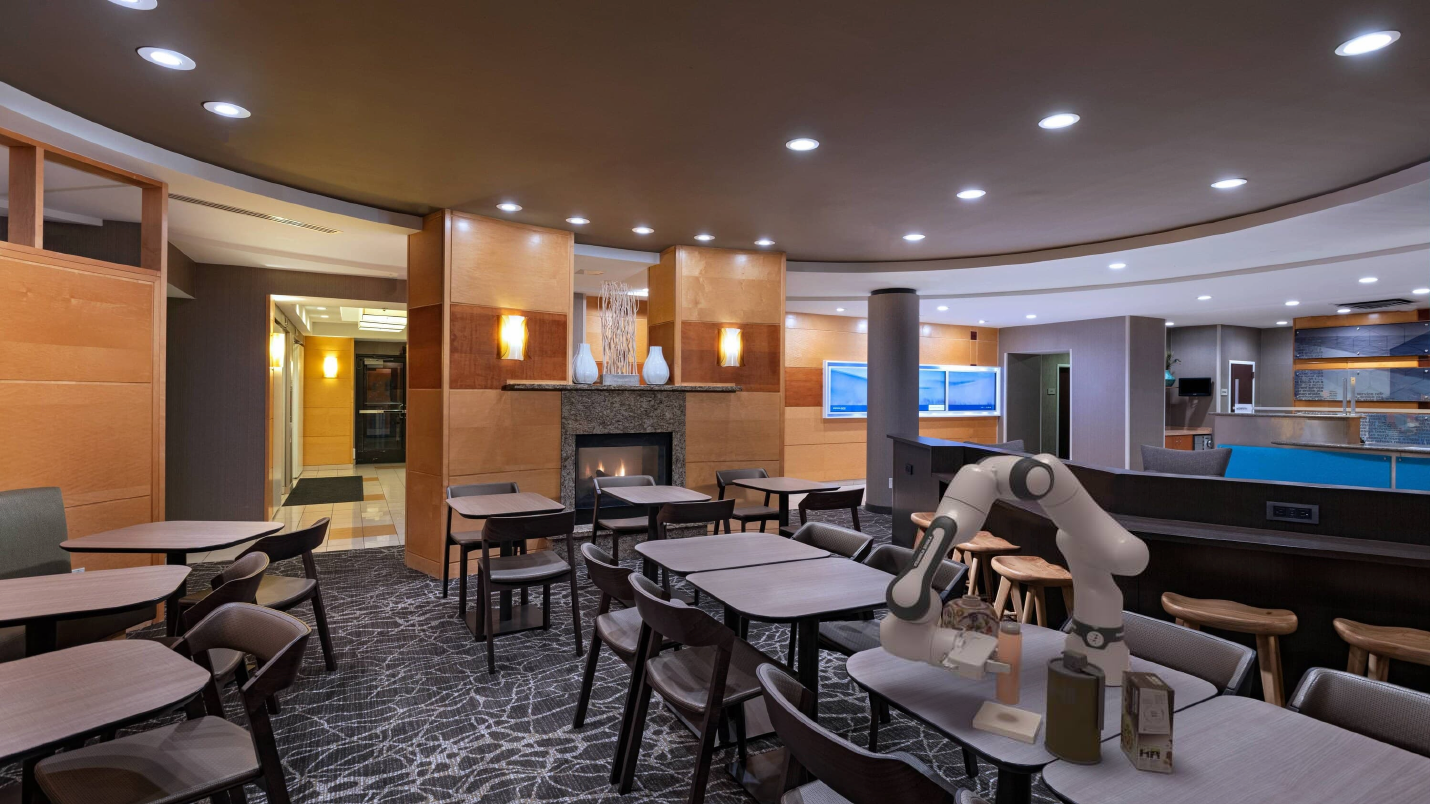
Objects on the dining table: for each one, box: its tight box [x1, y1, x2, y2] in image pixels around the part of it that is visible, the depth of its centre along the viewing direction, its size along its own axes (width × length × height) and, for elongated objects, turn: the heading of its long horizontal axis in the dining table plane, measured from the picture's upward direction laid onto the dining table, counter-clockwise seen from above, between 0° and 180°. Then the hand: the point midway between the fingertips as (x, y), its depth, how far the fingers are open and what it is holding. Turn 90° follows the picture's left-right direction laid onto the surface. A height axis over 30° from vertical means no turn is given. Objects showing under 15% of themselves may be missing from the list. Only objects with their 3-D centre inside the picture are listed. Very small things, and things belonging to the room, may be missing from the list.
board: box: [972, 700, 1043, 745], centre depth 150 cm, size 12×12×2 cm
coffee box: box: [1119, 671, 1176, 774], centre depth 137 cm, size 9×6×16 cm
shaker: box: [995, 621, 1023, 706], centre depth 150 cm, size 5×5×17 cm
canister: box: [1043, 650, 1106, 766], centre depth 139 cm, size 11×10×20 cm
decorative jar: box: [941, 594, 1001, 662], centre depth 184 cm, size 12×12×18 cm
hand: (1013, 664), depth 149 cm, fingers closed on shaker, 5 cm apart
